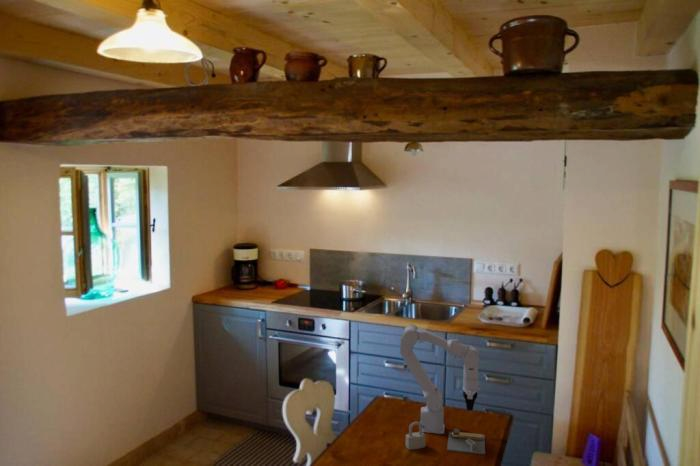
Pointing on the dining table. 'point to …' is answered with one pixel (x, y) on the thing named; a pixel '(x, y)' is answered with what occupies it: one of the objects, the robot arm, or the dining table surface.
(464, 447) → the slate board
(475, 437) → the brass link
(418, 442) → the grey padlock
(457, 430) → the pin cap
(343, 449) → the dining table surface
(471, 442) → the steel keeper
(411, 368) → the robot arm
